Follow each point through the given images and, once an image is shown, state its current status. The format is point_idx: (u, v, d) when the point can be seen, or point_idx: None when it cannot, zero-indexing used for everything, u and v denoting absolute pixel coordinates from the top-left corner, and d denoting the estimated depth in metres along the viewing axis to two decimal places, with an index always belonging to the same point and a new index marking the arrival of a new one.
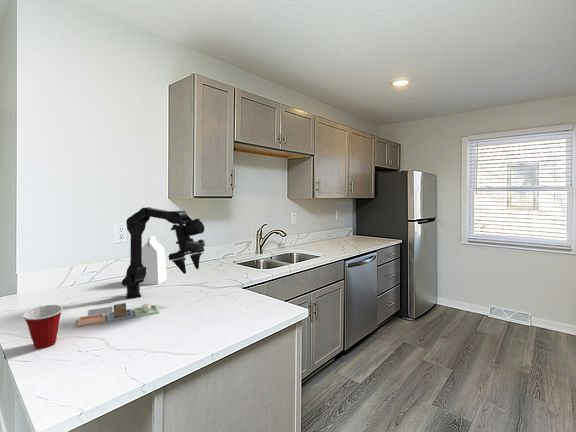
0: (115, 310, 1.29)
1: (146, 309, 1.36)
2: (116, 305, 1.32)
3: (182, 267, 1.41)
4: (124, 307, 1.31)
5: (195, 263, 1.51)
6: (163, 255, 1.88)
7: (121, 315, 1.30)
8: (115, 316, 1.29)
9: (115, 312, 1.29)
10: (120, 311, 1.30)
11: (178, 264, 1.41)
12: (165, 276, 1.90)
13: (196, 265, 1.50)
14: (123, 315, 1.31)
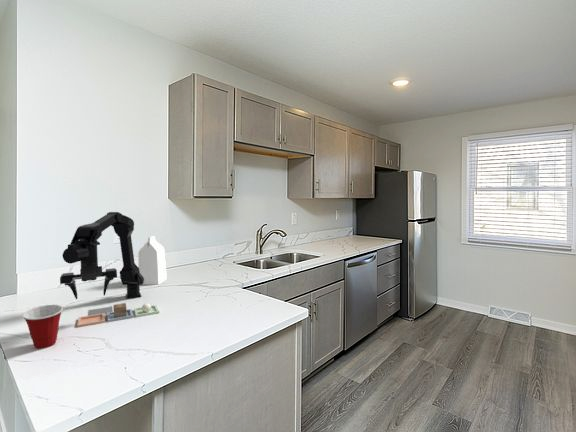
0: (115, 310, 1.29)
1: (146, 309, 1.36)
2: (116, 305, 1.32)
3: (73, 292, 1.23)
4: (124, 307, 1.31)
5: (104, 288, 1.29)
6: (163, 255, 1.88)
7: (121, 315, 1.30)
8: (115, 316, 1.29)
9: (115, 312, 1.29)
10: (120, 311, 1.30)
11: None
12: (165, 276, 1.90)
13: (103, 291, 1.29)
14: (123, 315, 1.31)
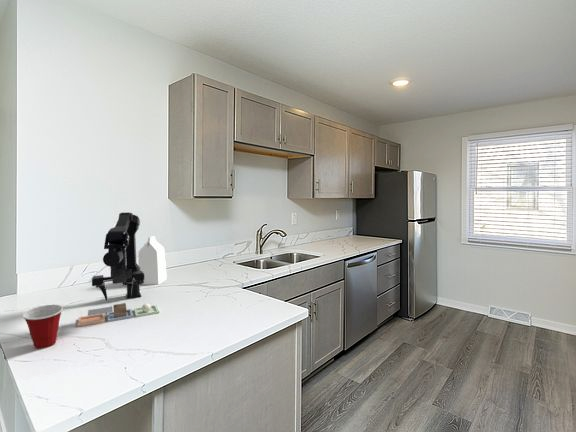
0: (115, 310, 1.29)
1: (146, 309, 1.36)
2: (116, 305, 1.32)
3: (103, 294, 1.29)
4: (124, 307, 1.31)
5: (132, 290, 1.34)
6: (163, 255, 1.88)
7: (121, 315, 1.30)
8: (115, 316, 1.29)
9: (115, 312, 1.29)
10: (120, 311, 1.30)
11: None
12: (165, 276, 1.90)
13: (131, 292, 1.34)
14: (123, 315, 1.31)
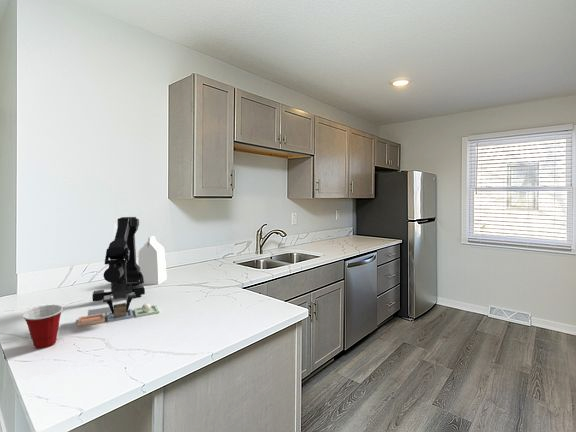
0: (115, 310, 1.29)
1: (146, 309, 1.36)
2: (116, 305, 1.32)
3: (110, 307, 1.30)
4: (124, 307, 1.31)
5: None
6: (163, 255, 1.88)
7: (121, 315, 1.30)
8: (115, 316, 1.29)
9: (115, 312, 1.29)
10: (120, 311, 1.30)
11: None
12: (165, 276, 1.90)
13: (126, 308, 1.33)
14: (123, 315, 1.31)
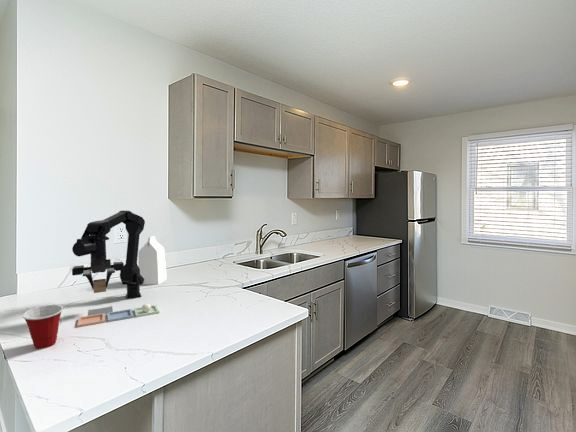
0: (95, 284, 1.34)
1: (146, 309, 1.36)
2: (96, 280, 1.36)
3: None
4: (103, 282, 1.35)
5: (106, 281, 1.38)
6: (163, 255, 1.88)
7: (101, 290, 1.35)
8: (95, 290, 1.34)
9: (95, 286, 1.34)
10: (99, 286, 1.35)
11: None
12: (165, 276, 1.90)
13: None
14: (103, 290, 1.35)
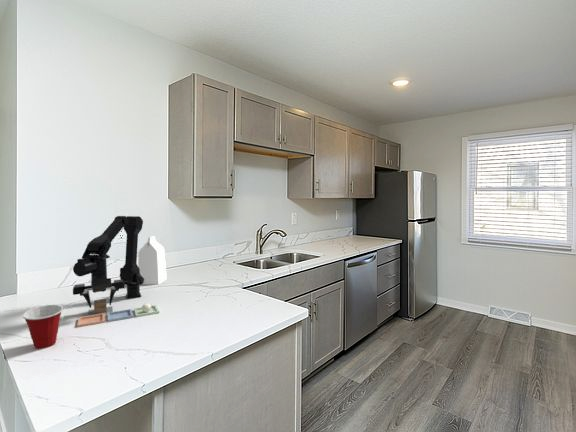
0: (95, 305, 1.34)
1: (146, 309, 1.36)
2: (97, 301, 1.37)
3: (87, 301, 1.34)
4: (104, 303, 1.36)
5: (110, 298, 1.39)
6: (163, 255, 1.88)
7: (101, 310, 1.36)
8: (95, 311, 1.35)
9: (95, 307, 1.34)
10: (100, 307, 1.35)
11: None
12: (165, 276, 1.90)
13: (109, 301, 1.39)
14: (103, 310, 1.36)
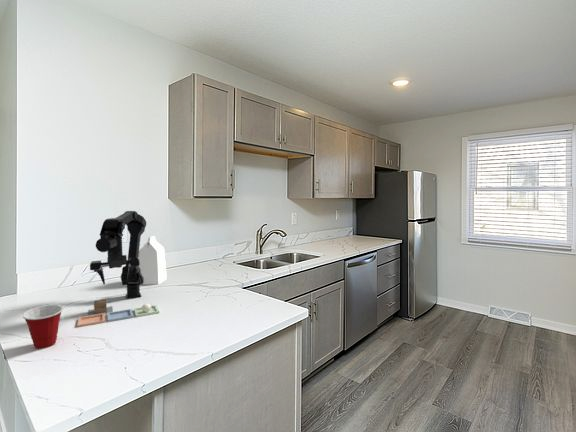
0: (95, 305, 1.34)
1: (146, 309, 1.36)
2: (97, 301, 1.37)
3: (101, 278, 1.37)
4: (104, 303, 1.36)
5: (128, 275, 1.43)
6: (163, 255, 1.88)
7: (101, 310, 1.36)
8: (95, 311, 1.35)
9: (95, 307, 1.34)
10: (100, 307, 1.35)
11: None
12: (165, 276, 1.90)
13: (127, 277, 1.43)
14: (103, 310, 1.36)
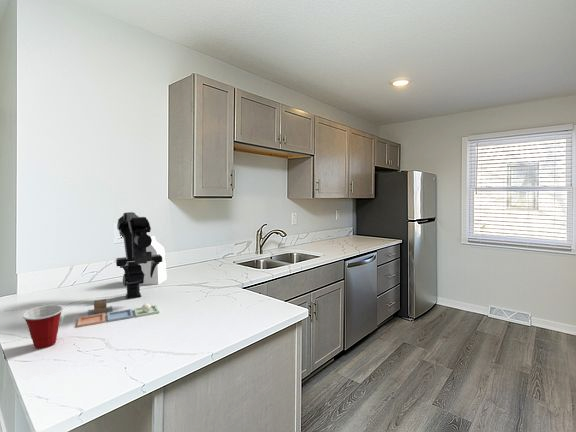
0: (95, 305, 1.34)
1: (146, 309, 1.36)
2: (97, 301, 1.37)
3: (126, 274, 1.43)
4: (104, 303, 1.36)
5: (151, 271, 1.49)
6: (163, 255, 1.88)
7: (101, 310, 1.36)
8: (95, 311, 1.35)
9: (95, 307, 1.34)
10: (100, 307, 1.35)
11: None
12: (165, 276, 1.90)
13: (150, 273, 1.48)
14: (103, 310, 1.36)
